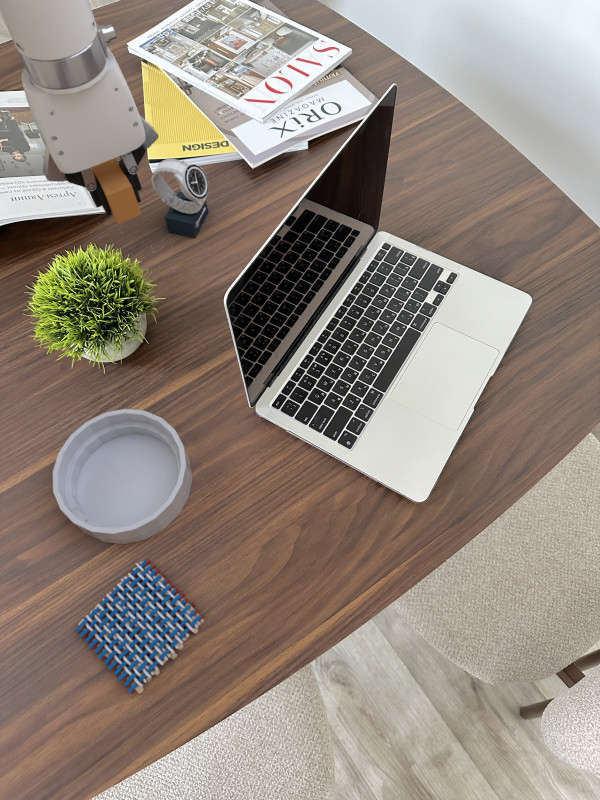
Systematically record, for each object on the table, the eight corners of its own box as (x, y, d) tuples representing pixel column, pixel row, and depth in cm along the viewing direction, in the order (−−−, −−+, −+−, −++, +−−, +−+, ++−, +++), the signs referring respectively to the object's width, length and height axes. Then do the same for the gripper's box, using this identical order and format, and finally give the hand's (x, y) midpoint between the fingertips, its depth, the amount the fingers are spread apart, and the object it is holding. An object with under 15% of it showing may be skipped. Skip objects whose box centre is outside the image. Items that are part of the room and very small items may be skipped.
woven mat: (211, 620, 69) (208, 617, 67) (137, 699, 65) (132, 698, 64) (148, 556, 72) (144, 552, 71) (75, 628, 69) (69, 625, 67)
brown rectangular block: (118, 224, 74) (106, 195, 70) (95, 184, 77) (83, 154, 73) (141, 214, 74) (131, 185, 70) (118, 175, 78) (107, 145, 74)
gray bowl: (94, 569, 72) (79, 558, 67) (51, 462, 78) (35, 446, 74) (213, 505, 75) (207, 491, 71) (162, 407, 81) (154, 388, 77)
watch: (207, 241, 94) (194, 184, 85) (158, 230, 96) (140, 173, 86) (220, 214, 97) (209, 156, 87) (172, 204, 98) (156, 146, 88)
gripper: (129, 7, 62) (169, 157, 78) (-32, 62, 59) (44, 207, 75) (159, 47, 59) (195, 195, 75) (-10, 108, 56) (65, 249, 72)
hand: (119, 200), depth 75 cm, fingers closed on brown rectangular block, 3 cm apart
